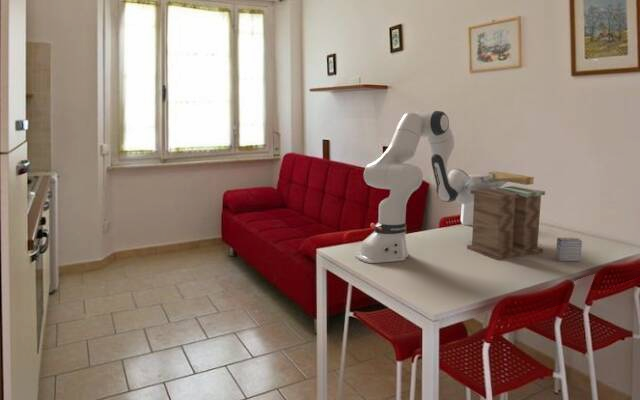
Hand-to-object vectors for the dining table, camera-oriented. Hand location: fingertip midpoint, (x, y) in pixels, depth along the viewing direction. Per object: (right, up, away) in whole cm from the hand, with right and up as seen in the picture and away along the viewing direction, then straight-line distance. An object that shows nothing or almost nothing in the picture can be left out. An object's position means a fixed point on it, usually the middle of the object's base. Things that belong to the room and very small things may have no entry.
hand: (498, 174), depth 213 cm
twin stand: (-1, -33, -9) cm, 34 cm away
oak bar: (+3, -3, -6) cm, 7 cm away
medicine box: (+19, -36, -23) cm, 47 cm away
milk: (+2, -24, +42) cm, 49 cm away
